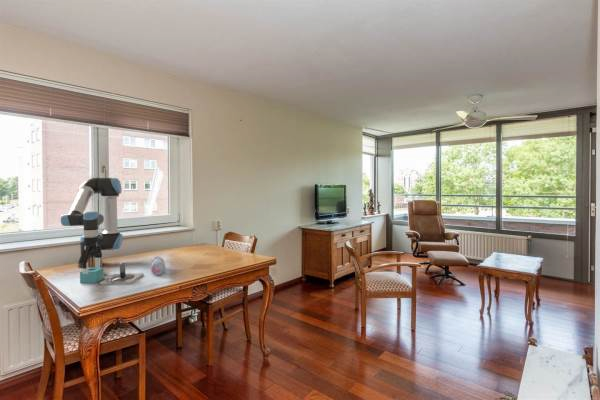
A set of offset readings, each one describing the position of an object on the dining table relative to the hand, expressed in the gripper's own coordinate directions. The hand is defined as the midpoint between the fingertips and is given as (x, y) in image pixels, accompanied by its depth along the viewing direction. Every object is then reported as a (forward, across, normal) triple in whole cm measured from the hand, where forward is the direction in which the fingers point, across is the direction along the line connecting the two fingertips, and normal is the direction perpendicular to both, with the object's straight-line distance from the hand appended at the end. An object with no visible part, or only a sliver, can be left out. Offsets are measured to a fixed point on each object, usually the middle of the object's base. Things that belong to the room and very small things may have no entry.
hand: (91, 270), depth 191 cm
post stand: (+6, 0, -18) cm, 19 cm away
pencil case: (+7, +16, -34) cm, 38 cm away
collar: (+6, 0, 0) cm, 6 cm away
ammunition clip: (+6, +14, +7) cm, 17 cm away
